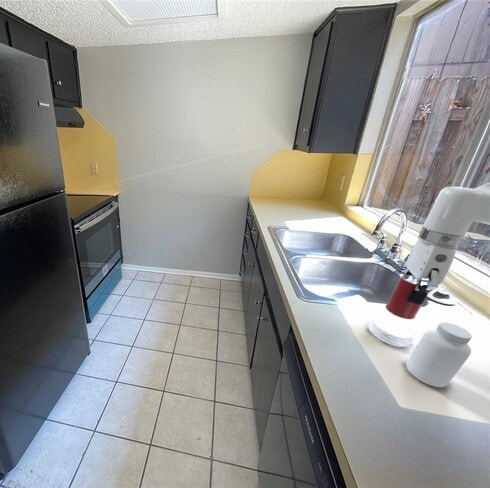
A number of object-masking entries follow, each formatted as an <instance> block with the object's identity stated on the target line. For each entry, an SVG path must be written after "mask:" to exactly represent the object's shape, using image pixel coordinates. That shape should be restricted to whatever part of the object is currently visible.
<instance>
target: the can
mask: <svg viewBox="0 0 490 488" xmlns="http://www.w3.org/2000/svg"><path fill="white" fill-rule="evenodd" d="M422 279H423V280H426V278H424V277H423V278H422ZM416 281H417V279H416V278H415V277H414V276H413V275H403V274H401V275H400V276H399V278H398V281H397V282H396V284H395V286H394V288H393V291H392V292H391V295H390V297H389V299H388V301H387V302H386V304H385V309H386V310H387V311H388V312H389V313H390V314H392V315H393V316H395V317H398V318H401V319H404V320H414V319H415V318H416V316H417V314H418V313H419V311H420V309H421V308H422V306H423V304H424V302H423V303H422V304H421V305H420V304H415V303H411V302H408V301H407V298H408V296H409V294H410V292H411V290H412V288H414V289H415V285H416ZM422 285H427V283H425V282H421V286H422ZM427 297H428V295H427V296H426V298H425V300H426V299H427Z"/></svg>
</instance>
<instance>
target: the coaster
mask: <svg viewBox="0 0 490 488" xmlns="http://www.w3.org/2000/svg"><path fill="white" fill-rule="evenodd" d="M368 330H369V331H370V333H371V334H372V335H373V337H375V338H376V339H378V340H379V341H381V342H383V343H385V344H388V345H390V346H393V347H398V348H406V347H409V346H410V345H411V343H412V341H413V340H414V338H415V334H414V332H413V331H412V329H411V328H409V327H408V326H407V325H406V324H404V323H402V322H401V321H399V320H398V319H394V318H392V317H388V316H384V315H379V316H378V315H376V316H374V317H372V318H371V321H370V323H369V324H368Z"/></svg>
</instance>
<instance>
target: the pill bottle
mask: <svg viewBox="0 0 490 488" xmlns="http://www.w3.org/2000/svg"><path fill="white" fill-rule="evenodd" d="M471 340H472V334H471V333H470V332H469V331H468V330H466V329H465V328H464V327H461V326H459V325H457V324H455V323H451V322H440V323H439V324H438V325H437V327H436V328H431V329H428V330H426V331H425V332H424V333H423V335H422V336H421V338H420V340H419V341H418V343H417V345H416V346H415V348H414V349H413V351H412V352H411V354H410V356H409V357H408V359H407V360H406V364H405V366H406V369H407V371H408V372H409V373H410V374H411V375H412V376H414V377H415V378H416V379H417V380H418V381H420V382H422V383H424V384H425V385H429V386H430V387H434V388H445V387H447V386H448V385H449V384H450V382H451V381H452V380H453V378H454V377H455V376H456V375H457V374H458V372H459V370H460V369H461V368H462V367H463V365H464V364H465V362H466V361H467V360H468V358H469V357H471V354H472V349H471V346H470V345H469V342H470V341H471Z"/></svg>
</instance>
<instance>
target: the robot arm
mask: <svg viewBox="0 0 490 488" xmlns="http://www.w3.org/2000/svg"><path fill="white" fill-rule="evenodd" d="M475 222H476V223H481V224H485V225H488V226H490V181H489V182H486V183H484V184H482V185H479V186H477V187H475V188H470V187H462V186H446V187H444V188H442V189H441V190H440V191H439V193H438V195H437V197H436V199H435V201H434V203H433V205H432V207H431V209H430V212H429V213H428V215H427V217H426V219H425V222H424V223H423V225H422V228H421V230H420V231H419V234H418V235H417V239H418V240H417V241H416V243H415V244H414V246H413V247H412V249H411V251H410V253H409V254H408V257H407V259H406V261H405V266H404V268H405V270H403V272H402V275H413V276H414V277H415V278H416V279H417V281H416V285H415V289H414V288H412V290H411V292H410V294H409V296H408V298H407V301H408V302H411V303H415V304H420V305H421V304H422V303H423V304H424V302H425V301H426V299H427V297H428V295H429V294H430V293H431V292H433V290H436V289H438V288H439V285H442V283H443V282H444V280H445V279H446V277H447V274H448V272H449V270H450V268H451V266H452V263H453V262H454V259H455V256H456V252H457V249H458V248H459V246H460V244H461V243H462V241H463V239H464V237H465V236H466V234H467V232H468V230H469V229H470V227H471V225H472V224H473V223H475ZM422 278H423V279H425V280H423V279H422ZM421 282H425V283H427V285H422V286H421ZM426 296H427V297H426ZM425 298H426V299H425ZM423 304H422V305H423Z"/></svg>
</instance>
